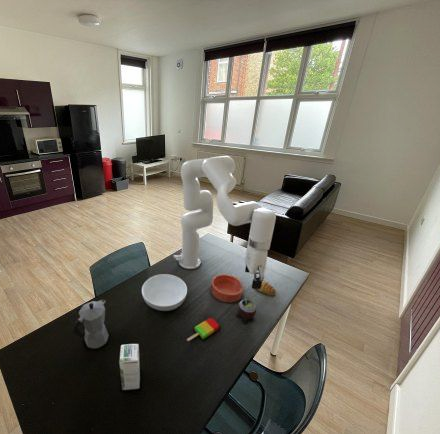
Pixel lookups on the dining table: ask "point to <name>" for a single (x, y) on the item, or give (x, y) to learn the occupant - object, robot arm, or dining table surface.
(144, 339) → the dining table surface
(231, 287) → the terracotta bowl
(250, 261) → the robot arm
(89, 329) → the coffeepot
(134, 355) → the syrup box
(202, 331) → the popsicle
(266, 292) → the pastry
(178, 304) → the serving bowl
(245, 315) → the mate gourd
